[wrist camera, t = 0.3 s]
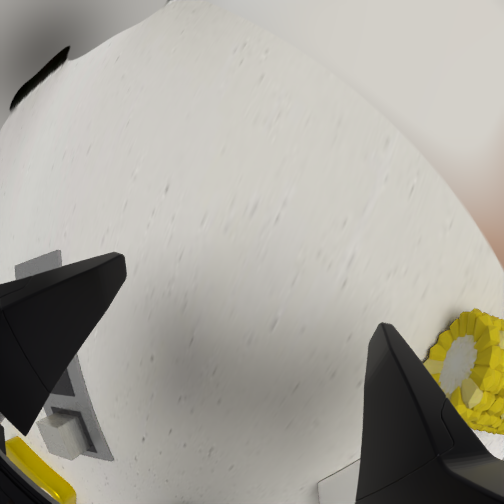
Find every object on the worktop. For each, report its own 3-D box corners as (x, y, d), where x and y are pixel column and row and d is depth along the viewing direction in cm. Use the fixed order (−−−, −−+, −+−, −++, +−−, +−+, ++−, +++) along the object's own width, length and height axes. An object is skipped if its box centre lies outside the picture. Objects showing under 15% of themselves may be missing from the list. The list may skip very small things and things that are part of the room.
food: (391, 382, 21) (439, 432, 11) (460, 277, 21) (530, 274, 11) (469, 436, 19) (513, 475, 9) (525, 350, 19) (580, 365, 9)
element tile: (16, 431, 27) (-1, 438, 22) (77, 488, 25) (61, 501, 20) (21, 473, 27) (8, 481, 22) (76, 521, 24) (64, 532, 20)
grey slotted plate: (113, 459, 24) (111, 461, 23) (62, 447, 25) (60, 448, 24) (60, 250, 27) (57, 249, 26) (17, 266, 28) (14, 265, 27)
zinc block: (90, 447, 24) (72, 460, 20) (67, 441, 24) (49, 452, 20) (77, 416, 24) (57, 428, 20) (55, 412, 25) (35, 422, 21)
